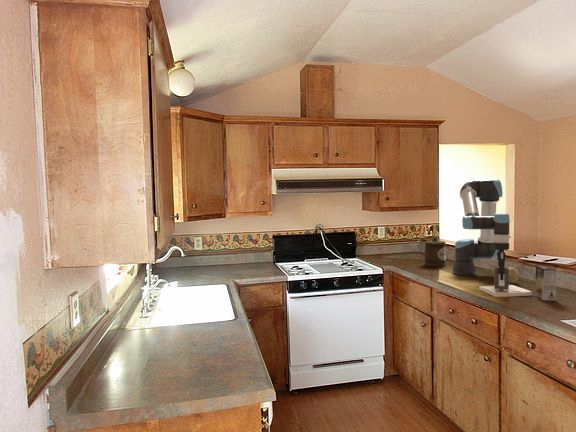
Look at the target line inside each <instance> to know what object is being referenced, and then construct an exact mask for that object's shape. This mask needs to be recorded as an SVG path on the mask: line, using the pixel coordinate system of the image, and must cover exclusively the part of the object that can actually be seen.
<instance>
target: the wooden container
mask: <svg viewBox="0 0 576 432" xmlns="http://www.w3.org/2000/svg"><path fill="white" fill-rule="evenodd" d="M424 246H425V247H424V266H426V265H427V267H431V266H436V267H435V268H442V266H443V267H446V241H445V240H438V237H437V236H433V237H432V240H426V241H425V242H424Z"/></svg>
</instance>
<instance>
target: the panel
mask: <svg viewBox="0 0 576 432" xmlns="http://www.w3.org/2000/svg"><path fill="white" fill-rule="evenodd" d="M478 289H479V291H481V292H483V293H486V294H488V295H491V296H492V297H495V298H502V297H503V298H504V297H506V298H507V297H524V296H525V297H526V296H527V297H528V296H533V291H531V290H528V289H525V288H523V287H520V286H517V285H514V284H509V290H505V289H495V288H494V285H483V286H480V285H479V287H478Z"/></svg>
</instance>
